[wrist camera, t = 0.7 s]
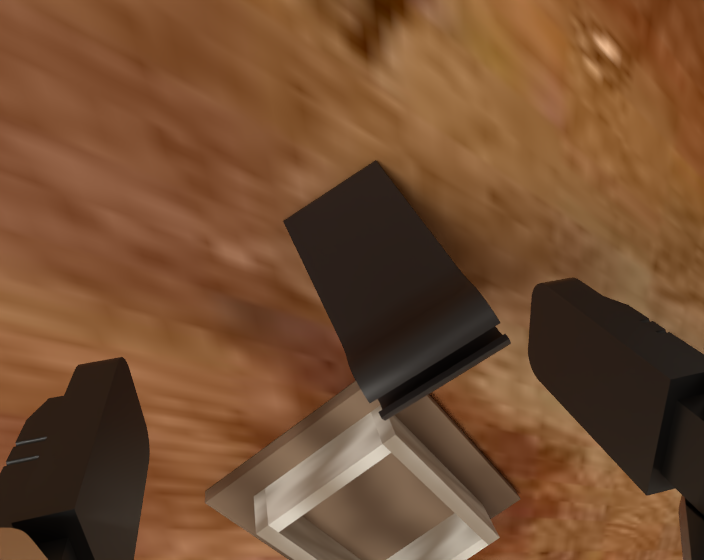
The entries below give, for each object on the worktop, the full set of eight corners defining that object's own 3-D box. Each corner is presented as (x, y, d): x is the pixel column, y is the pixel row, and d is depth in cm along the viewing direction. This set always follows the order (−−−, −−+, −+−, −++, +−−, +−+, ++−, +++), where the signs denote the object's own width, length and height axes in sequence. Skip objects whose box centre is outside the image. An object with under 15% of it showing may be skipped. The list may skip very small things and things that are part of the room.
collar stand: (392, 353, 36) (411, 392, 32) (514, 489, 44) (539, 531, 40) (205, 491, 37) (203, 541, 34) (356, 595, 46) (367, 644, 42)
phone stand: (282, 218, 30) (313, 333, 19) (375, 158, 30) (459, 243, 19) (362, 330, 34) (423, 474, 24) (444, 279, 34) (543, 402, 23)
